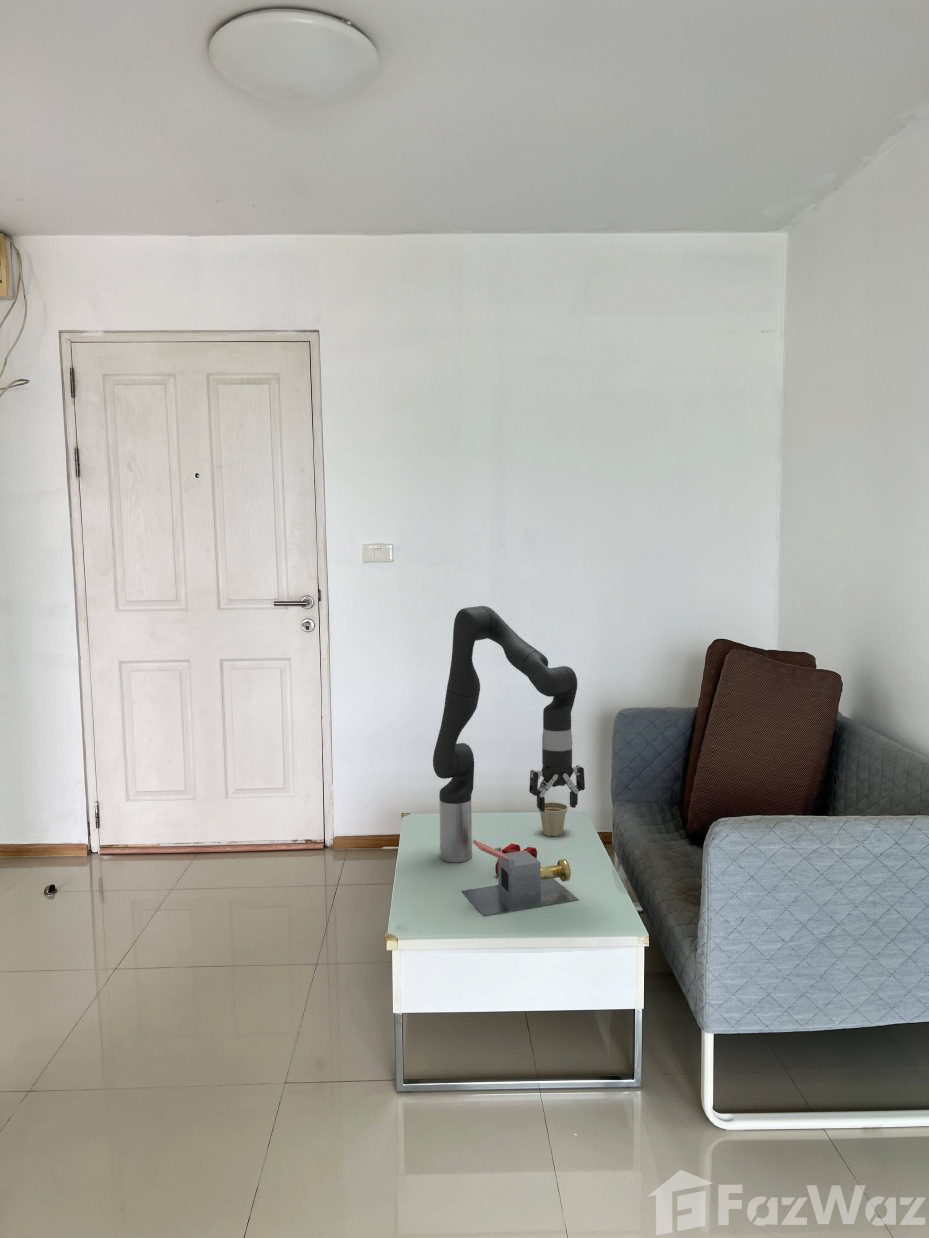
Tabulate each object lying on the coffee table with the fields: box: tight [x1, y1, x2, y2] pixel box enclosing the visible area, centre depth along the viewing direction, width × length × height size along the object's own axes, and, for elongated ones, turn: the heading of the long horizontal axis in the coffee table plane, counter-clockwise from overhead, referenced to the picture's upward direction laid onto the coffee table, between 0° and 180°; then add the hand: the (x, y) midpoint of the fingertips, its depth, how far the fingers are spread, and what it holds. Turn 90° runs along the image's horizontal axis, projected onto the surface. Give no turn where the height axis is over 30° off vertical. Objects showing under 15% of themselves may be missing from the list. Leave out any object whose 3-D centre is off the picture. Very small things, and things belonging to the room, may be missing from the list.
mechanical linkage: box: [494, 843, 538, 876], centre depth 243 cm, size 16×7×5 cm, turn 149°
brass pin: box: [541, 858, 572, 882], centre depth 226 cm, size 6×14×6 cm, turn 110°
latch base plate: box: [461, 847, 580, 917], centre depth 224 cm, size 16×26×12 cm, turn 110°
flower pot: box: [538, 801, 569, 837], centre depth 271 cm, size 9×9×9 cm
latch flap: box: [472, 839, 509, 862], centre depth 220 cm, size 7×9×1 cm
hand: (557, 808), depth 220 cm, fingers open, 8 cm apart
